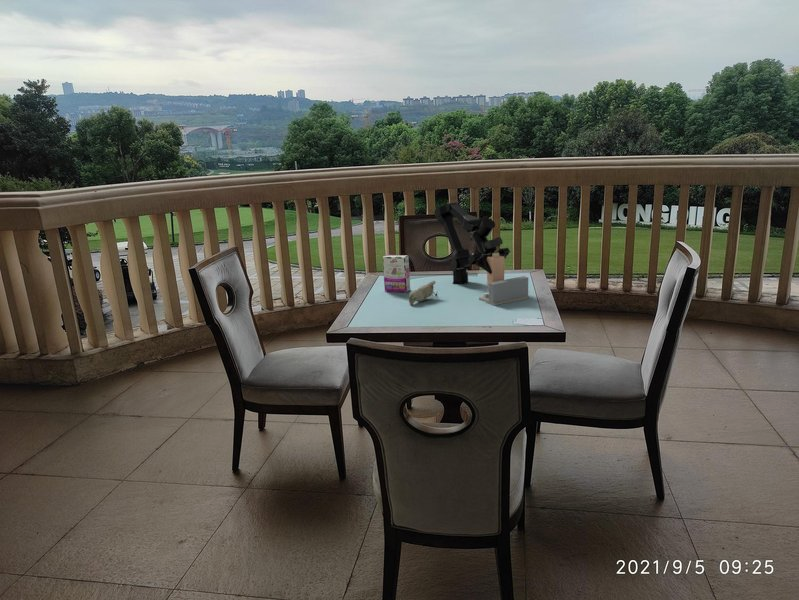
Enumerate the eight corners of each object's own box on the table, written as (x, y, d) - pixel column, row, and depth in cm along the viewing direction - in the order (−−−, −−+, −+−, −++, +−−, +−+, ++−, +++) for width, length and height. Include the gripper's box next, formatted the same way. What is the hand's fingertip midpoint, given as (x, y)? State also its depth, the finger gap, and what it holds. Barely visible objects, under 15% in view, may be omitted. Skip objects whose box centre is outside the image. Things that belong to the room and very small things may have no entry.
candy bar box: (410, 289, 250) (409, 255, 245) (406, 292, 246) (405, 257, 241) (388, 288, 254) (386, 254, 249) (384, 291, 250) (382, 256, 245)
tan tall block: (487, 286, 234) (487, 253, 229) (498, 284, 236) (498, 251, 232) (492, 288, 230) (492, 254, 226) (504, 286, 233) (504, 252, 228)
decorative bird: (405, 304, 229) (404, 287, 227) (430, 295, 240) (430, 279, 238) (414, 306, 225) (414, 289, 223) (439, 297, 236) (439, 281, 234)
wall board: (478, 299, 230) (478, 279, 228) (512, 292, 238) (512, 272, 235) (494, 305, 221) (494, 284, 218) (529, 298, 228) (529, 277, 226)
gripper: (471, 234, 226) (487, 264, 220) (507, 228, 234) (524, 258, 227) (461, 249, 235) (476, 279, 229) (496, 244, 243) (512, 272, 236)
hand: (497, 272), depth 230 cm, fingers closed on tan tall block, 6 cm apart
